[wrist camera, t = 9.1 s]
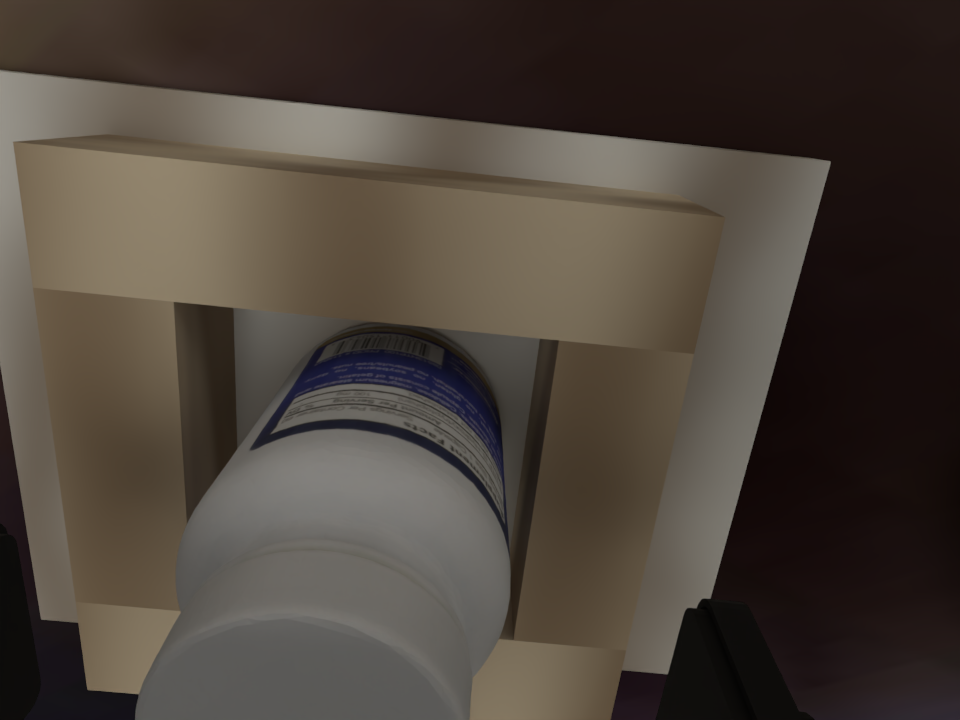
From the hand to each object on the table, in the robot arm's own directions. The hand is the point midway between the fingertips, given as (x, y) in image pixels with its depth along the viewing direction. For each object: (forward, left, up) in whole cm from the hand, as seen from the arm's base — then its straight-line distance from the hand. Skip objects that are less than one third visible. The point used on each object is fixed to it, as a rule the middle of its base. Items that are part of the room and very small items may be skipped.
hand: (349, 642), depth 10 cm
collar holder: (+1, 0, -8) cm, 8 cm away
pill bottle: (0, 0, -7) cm, 7 cm away
